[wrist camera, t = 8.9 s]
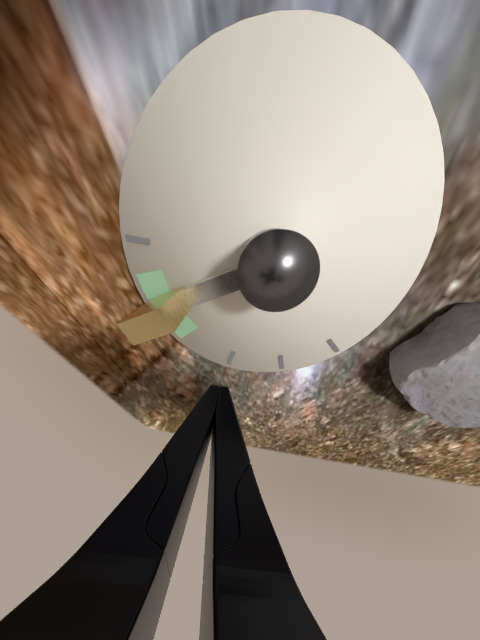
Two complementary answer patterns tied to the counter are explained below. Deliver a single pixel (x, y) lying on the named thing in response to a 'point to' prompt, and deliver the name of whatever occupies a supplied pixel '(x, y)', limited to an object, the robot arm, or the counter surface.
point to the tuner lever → (237, 284)
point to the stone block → (443, 367)
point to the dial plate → (284, 182)
